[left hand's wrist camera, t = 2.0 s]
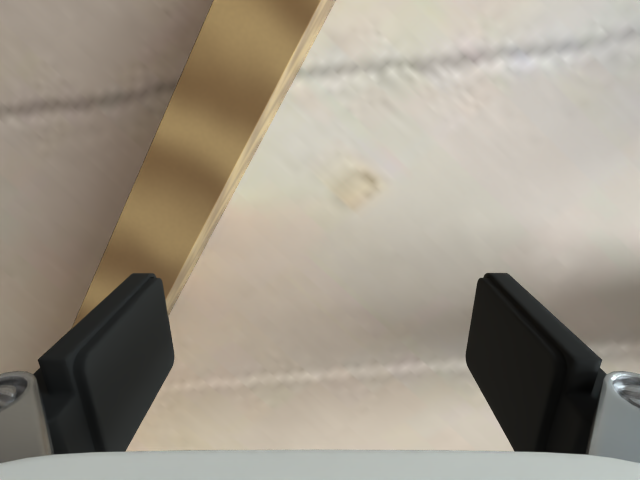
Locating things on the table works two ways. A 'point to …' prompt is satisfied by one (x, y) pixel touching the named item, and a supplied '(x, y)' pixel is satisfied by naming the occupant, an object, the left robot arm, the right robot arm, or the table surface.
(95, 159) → the table surface
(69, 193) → the table surface
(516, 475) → the left robot arm
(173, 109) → the bar
